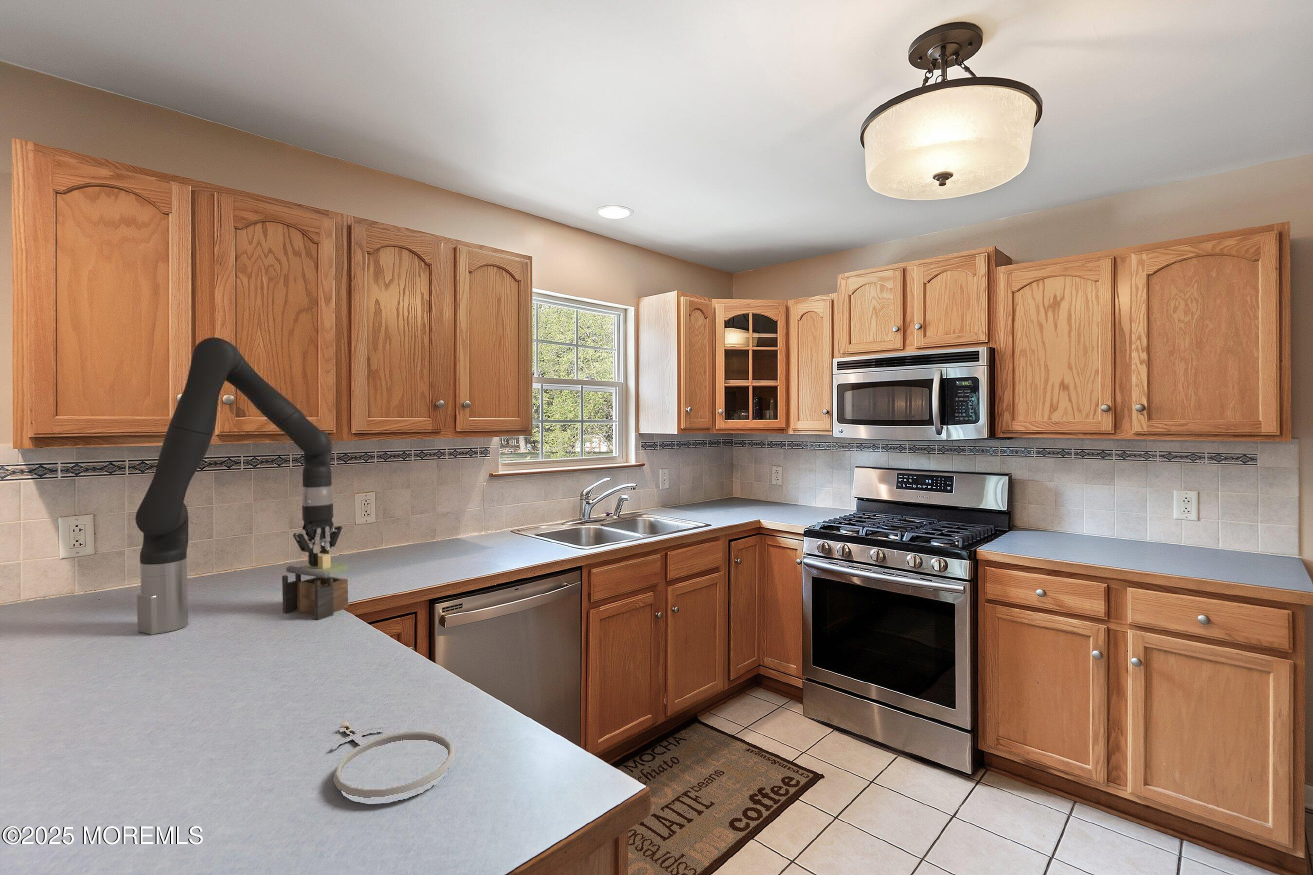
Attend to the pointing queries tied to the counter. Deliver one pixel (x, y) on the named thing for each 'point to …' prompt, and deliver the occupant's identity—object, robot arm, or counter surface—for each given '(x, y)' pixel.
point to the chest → (315, 595)
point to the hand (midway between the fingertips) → (319, 564)
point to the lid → (319, 567)
